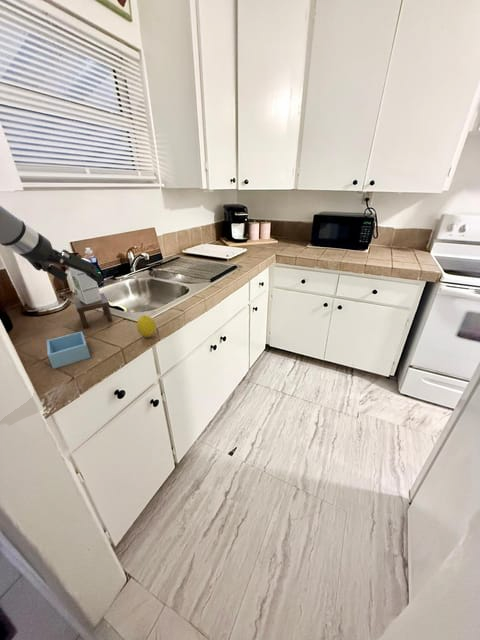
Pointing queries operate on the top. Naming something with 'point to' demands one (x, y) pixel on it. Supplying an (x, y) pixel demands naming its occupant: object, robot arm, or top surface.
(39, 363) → the top surface
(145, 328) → the lemon
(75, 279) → the syrup box
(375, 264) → the top surface
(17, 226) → the robot arm
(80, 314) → the stool
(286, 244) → the top surface
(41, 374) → the top surface
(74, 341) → the bin
